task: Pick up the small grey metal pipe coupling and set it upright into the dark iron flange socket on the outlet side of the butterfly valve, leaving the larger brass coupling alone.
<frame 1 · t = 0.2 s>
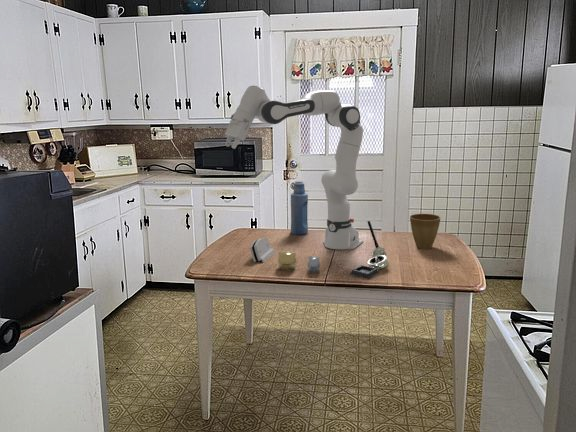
hand: (229, 147, 220), 54 cm above the table, tool tilted 30°, fingers open, 8 cm apart
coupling: (313, 270, 217), on the table
grey bevelled device: (262, 257, 237), on the table
flange socket: (364, 273, 212), on the table
plant pot: (423, 247, 248), on the table
bottle: (299, 233, 279), on the table
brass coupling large: (287, 267, 221), on the table
butterfly valve: (377, 267, 222), on the table, touching flange socket
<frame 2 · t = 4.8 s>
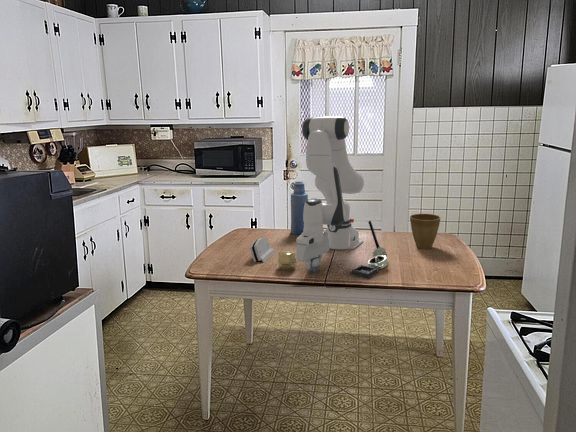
hand: (313, 265, 216), 2 cm above the table, tool pointing down, fingers closed on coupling, 6 cm apart
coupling: (313, 270, 217), on the table, touching gripper
everything else where it was.
when the fingers open (5 cm above the table, at t = 10.3 s): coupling drops 2 cm, resting on flange socket.
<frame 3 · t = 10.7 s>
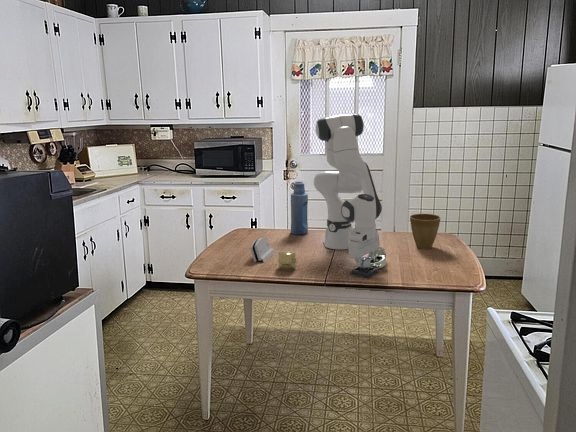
hand: (364, 263, 211), 5 cm above the table, tool pointing down, fingers open, 8 cm apart
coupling: (364, 271, 212), point 1 cm above the table, touching flange socket
everything else where it was.
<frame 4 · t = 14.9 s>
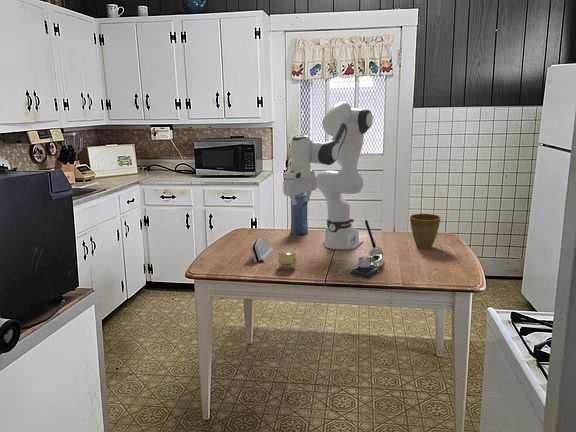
hand: (300, 202, 219), 29 cm above the table, tool pointing down, fingers open, 8 cm apart
butterfly valve: (373, 266, 223), on the table, touching flange socket
everything else where it was.
at the end: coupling 0.0 cm off-centre on the flange socket, point 1.1 cm above the flange socket's base; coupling tilted 1°; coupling 12.8 cm from the butterfly valve (horizontally) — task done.
